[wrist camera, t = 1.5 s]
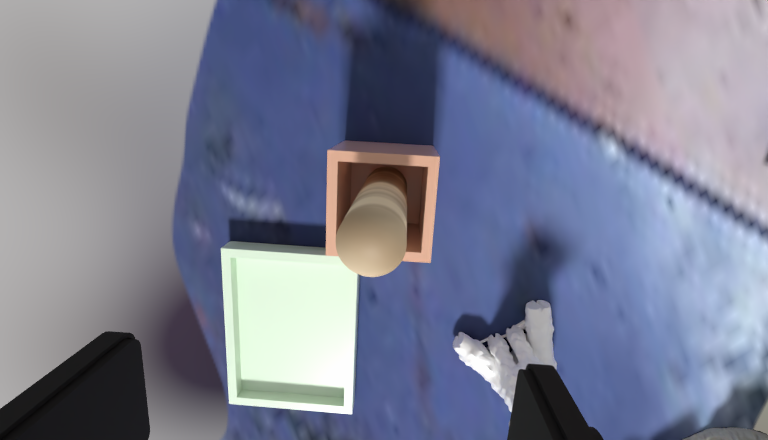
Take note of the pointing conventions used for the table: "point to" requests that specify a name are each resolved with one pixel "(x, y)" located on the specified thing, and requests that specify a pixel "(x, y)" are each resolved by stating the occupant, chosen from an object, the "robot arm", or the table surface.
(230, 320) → the tray
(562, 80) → the table surface
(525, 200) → the table surface
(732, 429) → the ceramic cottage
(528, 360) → the sitting furry creature
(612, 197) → the table surface
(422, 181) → the pink open box
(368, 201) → the dowel
